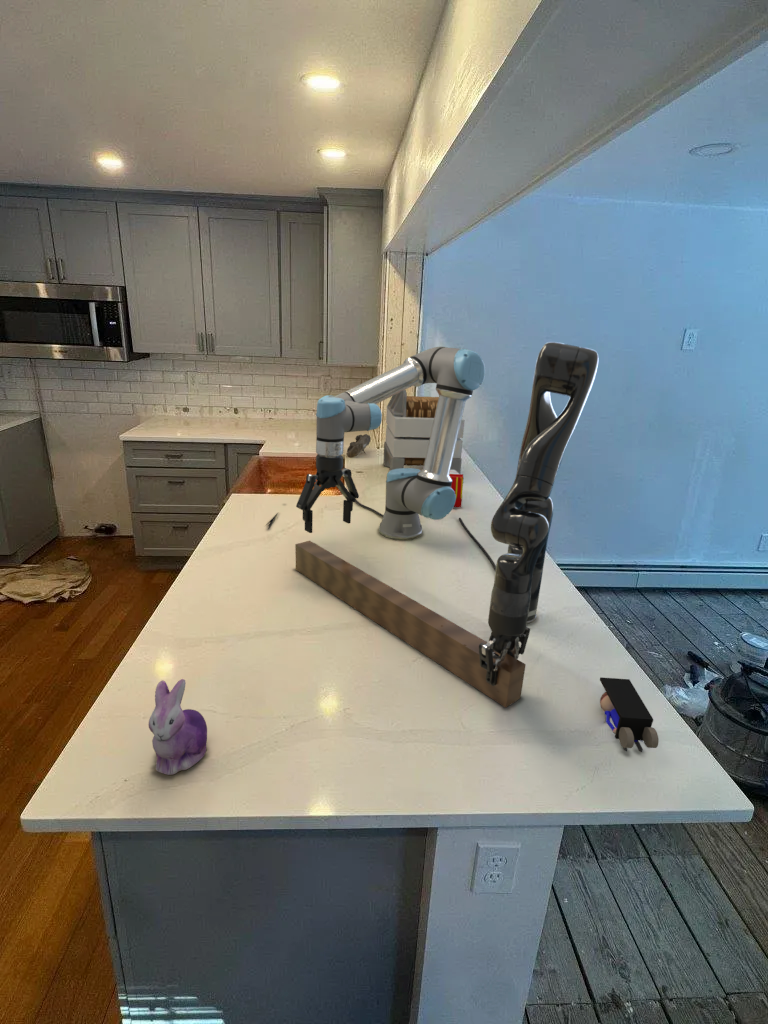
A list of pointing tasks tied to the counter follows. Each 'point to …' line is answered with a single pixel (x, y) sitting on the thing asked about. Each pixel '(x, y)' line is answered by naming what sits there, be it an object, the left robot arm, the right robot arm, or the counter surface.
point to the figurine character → (627, 714)
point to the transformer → (413, 431)
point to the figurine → (176, 730)
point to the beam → (411, 622)
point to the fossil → (358, 445)
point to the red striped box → (457, 486)
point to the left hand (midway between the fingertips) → (328, 526)
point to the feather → (271, 521)
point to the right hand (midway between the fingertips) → (499, 678)
